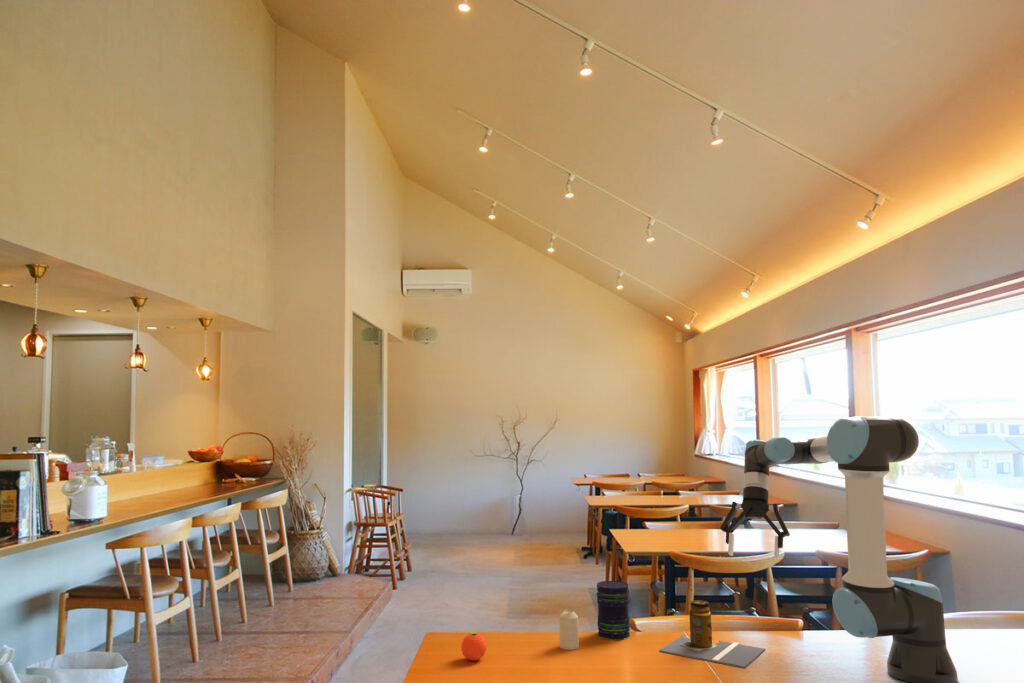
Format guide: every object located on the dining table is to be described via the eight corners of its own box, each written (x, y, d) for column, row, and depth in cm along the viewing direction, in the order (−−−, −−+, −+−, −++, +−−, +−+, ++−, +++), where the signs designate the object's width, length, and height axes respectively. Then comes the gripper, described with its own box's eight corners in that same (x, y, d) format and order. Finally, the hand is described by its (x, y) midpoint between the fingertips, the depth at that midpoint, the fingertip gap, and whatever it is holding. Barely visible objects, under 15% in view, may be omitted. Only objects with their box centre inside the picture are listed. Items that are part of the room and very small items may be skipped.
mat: (765, 650, 190) (765, 647, 190) (745, 668, 176) (745, 665, 176) (684, 635, 204) (683, 633, 204) (659, 651, 190) (659, 648, 190)
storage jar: (636, 637, 203) (634, 586, 205) (608, 641, 199) (606, 589, 201) (619, 628, 212) (618, 579, 214) (591, 632, 208) (590, 582, 211)
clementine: (457, 656, 187) (457, 629, 188) (480, 653, 189) (480, 627, 190) (465, 665, 179) (465, 637, 180) (490, 662, 182) (489, 634, 183)
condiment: (719, 646, 192) (716, 602, 194) (699, 651, 188) (697, 607, 189) (699, 640, 198) (697, 597, 200) (679, 645, 194) (677, 601, 195)
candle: (556, 645, 196) (555, 610, 197) (572, 643, 198) (571, 607, 199) (565, 651, 191) (564, 614, 192) (582, 648, 193) (581, 612, 194)
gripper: (800, 494, 209) (799, 563, 200) (720, 491, 223) (715, 556, 214) (795, 486, 204) (794, 557, 195) (713, 483, 218) (708, 550, 208)
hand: (753, 557), depth 204 cm, fingers open, 13 cm apart
